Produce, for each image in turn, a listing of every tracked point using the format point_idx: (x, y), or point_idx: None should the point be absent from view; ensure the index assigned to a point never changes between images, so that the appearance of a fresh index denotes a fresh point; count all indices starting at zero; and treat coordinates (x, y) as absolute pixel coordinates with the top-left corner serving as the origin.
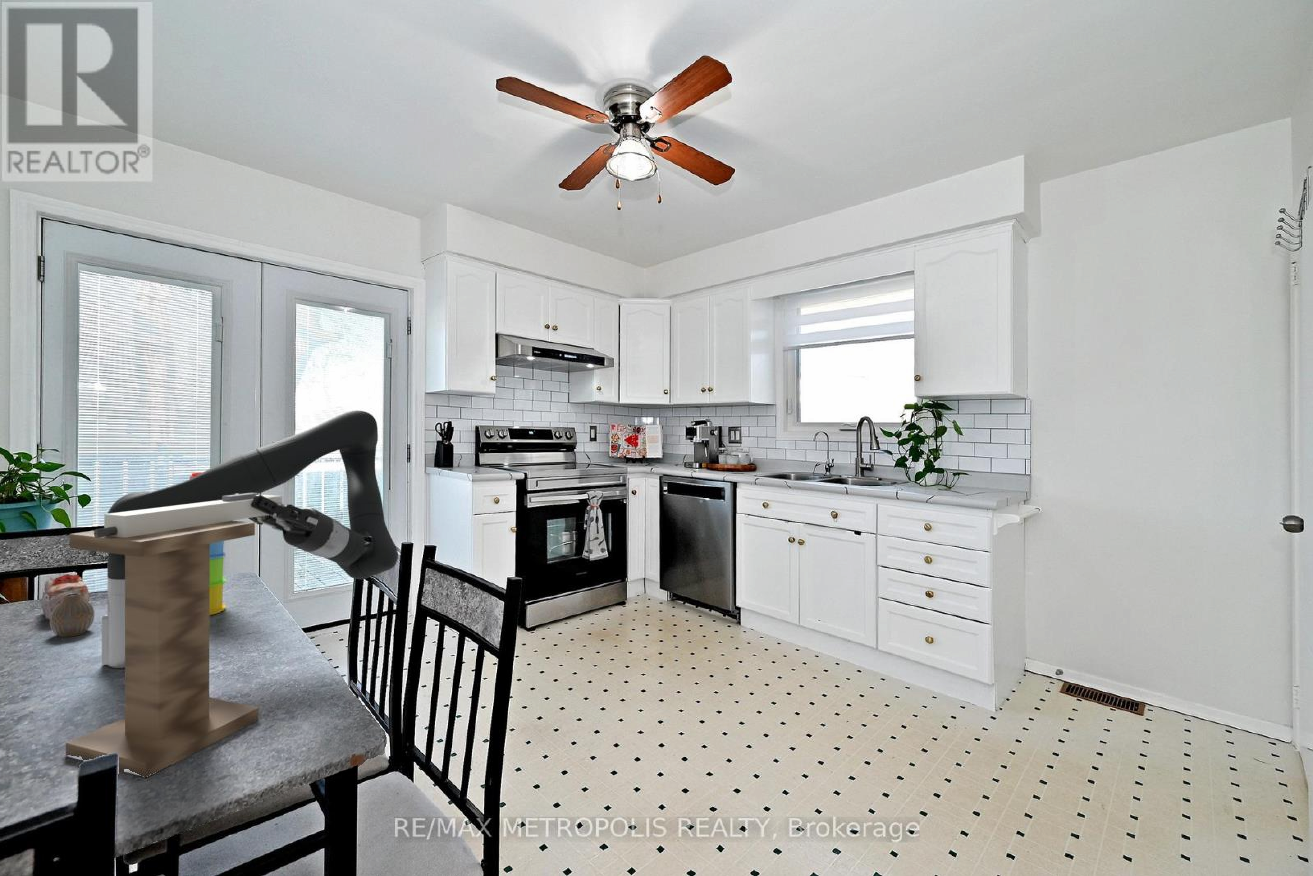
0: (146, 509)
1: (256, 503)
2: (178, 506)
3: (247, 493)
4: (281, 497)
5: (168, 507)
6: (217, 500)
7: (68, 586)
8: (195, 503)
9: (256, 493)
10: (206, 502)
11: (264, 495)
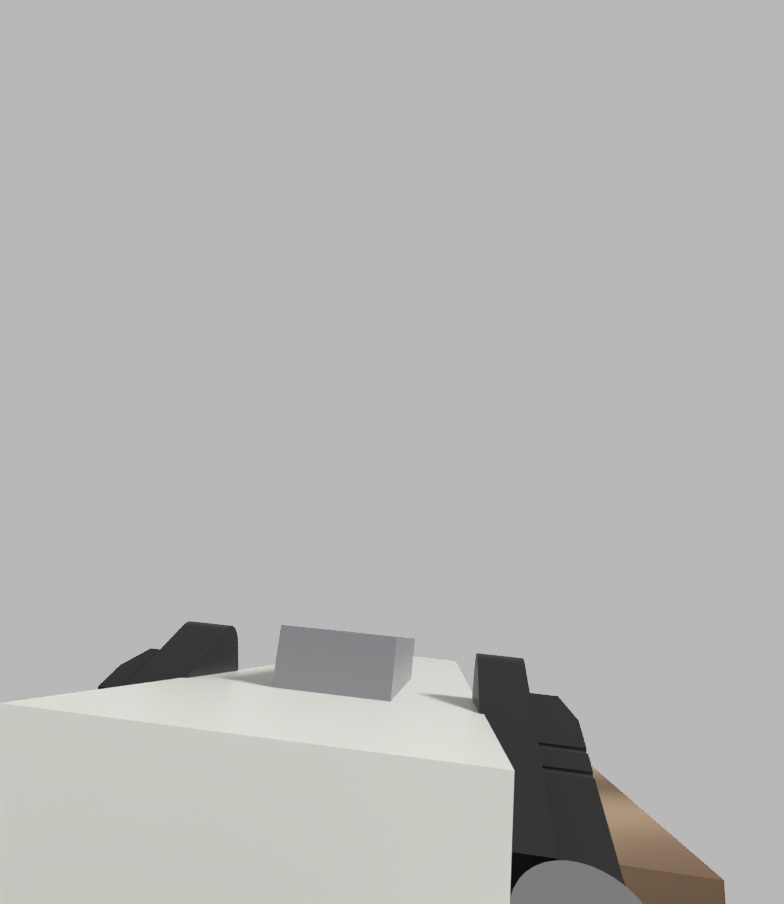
0: (444, 663)
1: None
2: (416, 664)
3: (378, 635)
4: (1, 739)
5: (426, 664)
6: (460, 683)
7: None
8: (446, 673)
9: (289, 626)
10: (432, 674)
11: (392, 735)
